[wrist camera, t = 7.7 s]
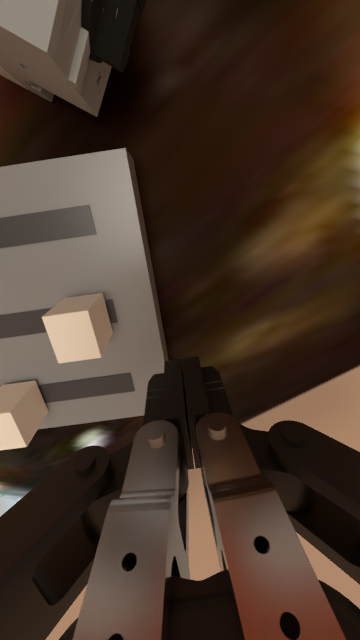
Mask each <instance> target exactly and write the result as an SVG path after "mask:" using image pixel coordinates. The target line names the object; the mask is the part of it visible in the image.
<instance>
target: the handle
mask: <svg viewBox="0 0 360 640" xmlns="http://www.w3.org/2000/svg"><path fill="white" fill-rule="evenodd" d="M47 413H48V410H47V407H46V405H45V402H44V400H43V398H42V395H41V393H40V390H39V388H38V385H37V383H36V381H28V382H21V383H14V384H6V385H2V386H1V387H0V450H7V449H14V448H22V447H27V446H28V444H29V443H30V441H31V439H32V438H33V436H34V434H35V433H36V431H37V429H38V428H39V426H40V424H41V423H42V421H43V419H44V418H45V416H46V415H47Z"/></svg>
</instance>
